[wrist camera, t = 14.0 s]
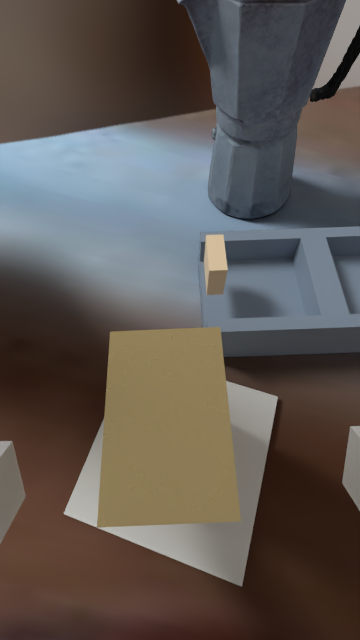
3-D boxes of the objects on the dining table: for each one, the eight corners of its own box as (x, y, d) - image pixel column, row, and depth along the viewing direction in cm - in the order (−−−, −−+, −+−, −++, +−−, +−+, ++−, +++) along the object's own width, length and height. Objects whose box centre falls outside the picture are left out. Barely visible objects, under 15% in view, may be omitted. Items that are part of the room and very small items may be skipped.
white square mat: (66, 513, 22) (63, 513, 21) (132, 354, 27) (132, 351, 26) (240, 584, 20) (241, 586, 19) (276, 398, 25) (278, 396, 24)
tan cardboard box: (149, 502, 21) (96, 527, 9) (149, 410, 24) (109, 331, 12) (209, 499, 21) (240, 521, 9) (202, 408, 24) (220, 326, 12)
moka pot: (170, 175, 37) (155, -117, 19) (294, 148, 38) (387, -142, 21) (195, 237, 32) (207, -65, 15) (333, 203, 34) (494, -102, 16)
